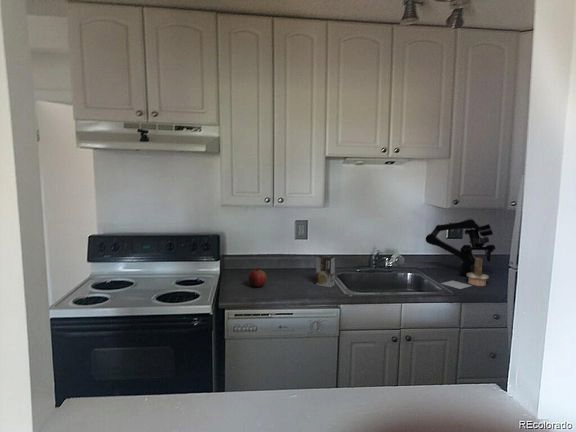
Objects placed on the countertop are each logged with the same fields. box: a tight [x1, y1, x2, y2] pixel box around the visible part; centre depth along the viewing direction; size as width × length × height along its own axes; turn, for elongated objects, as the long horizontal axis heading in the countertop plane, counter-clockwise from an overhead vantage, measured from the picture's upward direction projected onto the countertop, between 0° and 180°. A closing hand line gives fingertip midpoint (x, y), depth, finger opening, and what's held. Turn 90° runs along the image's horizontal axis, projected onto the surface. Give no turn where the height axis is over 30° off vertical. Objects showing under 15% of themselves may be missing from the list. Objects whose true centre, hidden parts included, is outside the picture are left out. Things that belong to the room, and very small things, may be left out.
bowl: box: [467, 277, 487, 287], centre depth 223 cm, size 9×9×4 cm
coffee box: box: [315, 254, 336, 288], centre depth 214 cm, size 9×6×16 cm
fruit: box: [248, 267, 267, 288], centre depth 209 cm, size 11×10×10 cm
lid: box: [467, 257, 490, 280], centre depth 222 cm, size 12×12×11 cm
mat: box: [440, 280, 472, 290], centre depth 220 cm, size 12×12×1 cm
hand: (481, 261), depth 228 cm, fingers open, 9 cm apart
